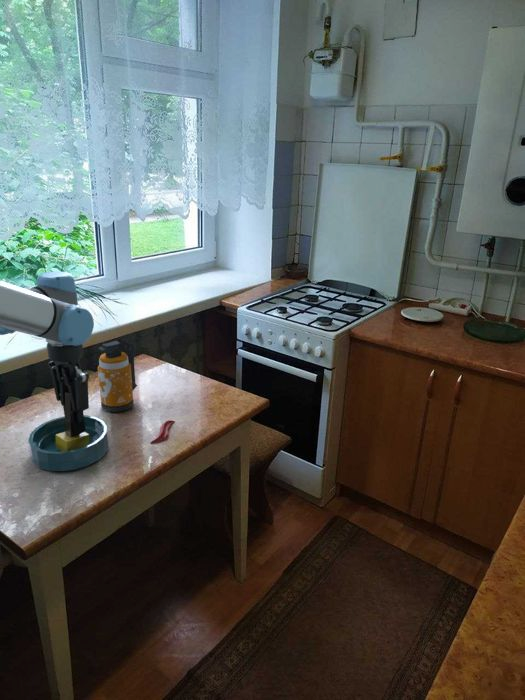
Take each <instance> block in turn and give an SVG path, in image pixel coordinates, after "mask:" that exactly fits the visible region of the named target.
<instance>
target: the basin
mask: <svg viewBox="0 0 525 700" xmlns="http://www.w3.org/2000/svg"><path fill="white" fill-rule="evenodd" d="M84 423H85V432H86V433H88V434H89V445H87V446H85V447H83V448H79V449H76V450H71V451H63V452H62V451H60V450H59V449H57V448H56V434H59V433H63V432H65V416H60V417H56V418H51V419H50V420H47V421H45V422H43V423H41V424H39V425H38V426H37V427H35V428H34V429H33V431H32V432H31V433H30V434H29V437H28V441H27V442H28V447H29V453H30V459H31V461H32V463H33V464H34V465H35V466H36V467H38V468H39V469H43V470H47V471H52V472H53V471H54V472H66V471H73V470H74V471H75V470H79V469H82V468H84V467H87V466H90V465H92V464H93V463H96V462H98V461H99V460H100V459H101V458H103V457H104V456H105V455H106V453H107V452H108V450H109V433H108V425H107V424H106V423H105V421H104V420H103V419H101V418H98V417H96V416H93V415H89V414H88V415H87V414H84Z"/></svg>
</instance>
